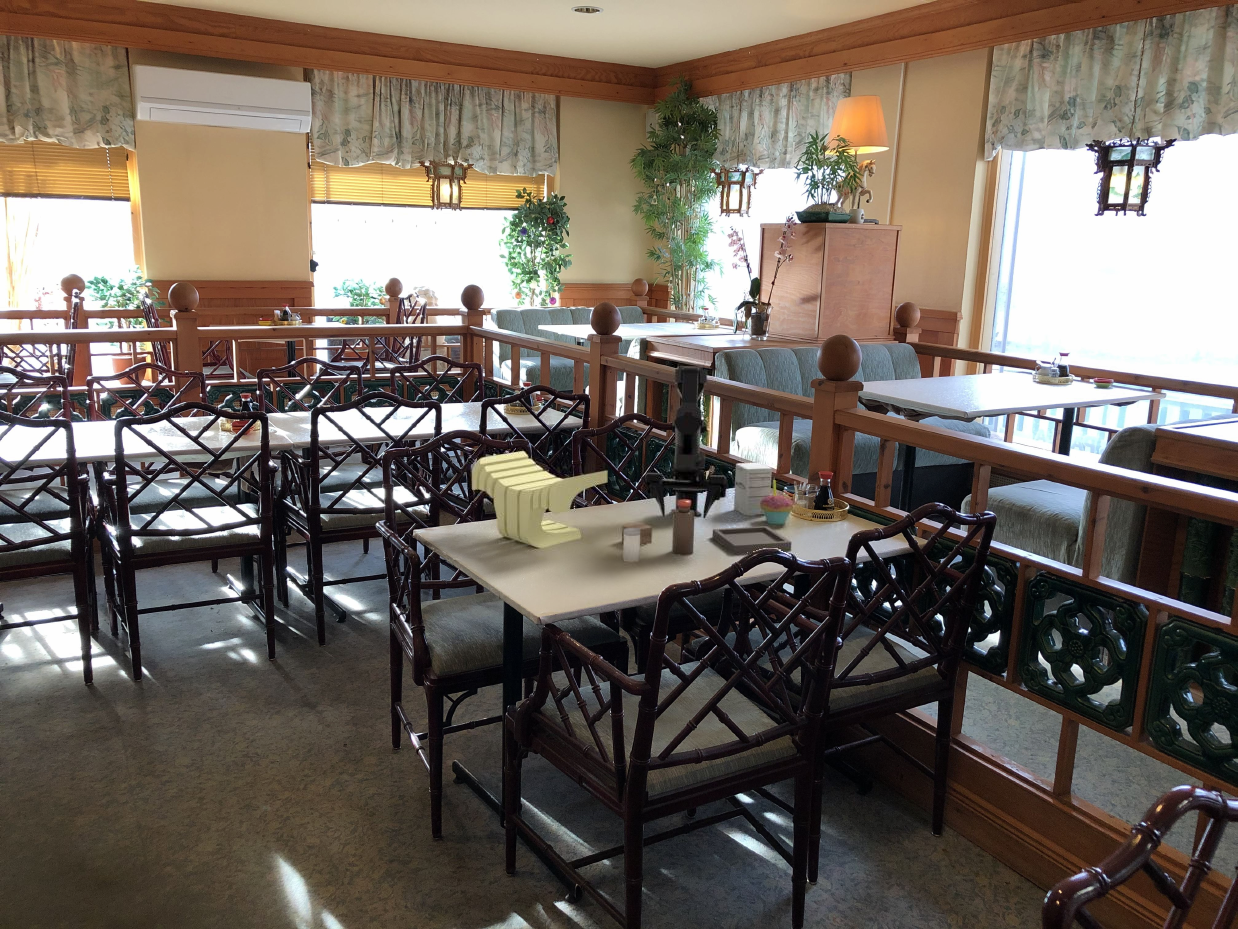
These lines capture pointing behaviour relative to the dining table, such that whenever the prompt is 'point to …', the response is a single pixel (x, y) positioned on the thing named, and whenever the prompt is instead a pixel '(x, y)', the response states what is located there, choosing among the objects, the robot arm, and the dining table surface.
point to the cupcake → (776, 507)
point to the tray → (750, 539)
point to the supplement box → (751, 487)
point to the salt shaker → (631, 544)
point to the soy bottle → (683, 528)
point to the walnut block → (644, 532)
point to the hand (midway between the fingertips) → (683, 516)
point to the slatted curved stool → (529, 497)
